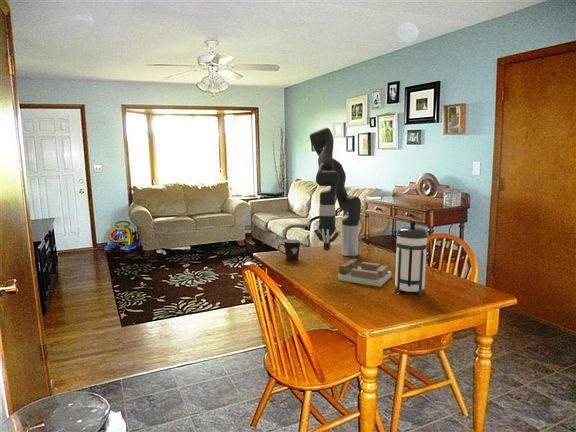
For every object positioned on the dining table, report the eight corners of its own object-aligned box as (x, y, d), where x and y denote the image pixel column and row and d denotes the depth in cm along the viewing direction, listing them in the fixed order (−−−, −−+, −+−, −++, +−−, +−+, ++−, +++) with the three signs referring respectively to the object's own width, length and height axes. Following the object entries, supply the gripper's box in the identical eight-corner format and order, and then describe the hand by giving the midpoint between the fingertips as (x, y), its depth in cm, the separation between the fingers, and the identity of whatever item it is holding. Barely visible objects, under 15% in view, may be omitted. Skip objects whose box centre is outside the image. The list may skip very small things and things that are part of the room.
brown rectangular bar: (352, 265, 212) (352, 258, 212) (358, 266, 211) (359, 259, 210) (339, 273, 200) (339, 265, 199) (345, 274, 198) (345, 266, 197)
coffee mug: (300, 257, 239) (300, 239, 237) (299, 261, 230) (299, 242, 229) (279, 256, 240) (279, 238, 238) (277, 260, 232) (277, 242, 230)
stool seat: (350, 270, 213) (351, 259, 213) (391, 276, 204) (391, 265, 203) (337, 279, 199) (338, 268, 198) (380, 286, 189) (381, 274, 188)
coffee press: (382, 288, 187) (384, 219, 182) (412, 284, 193) (415, 217, 188) (408, 301, 171) (411, 226, 166) (439, 296, 178) (444, 224, 173)
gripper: (310, 213, 201) (310, 250, 204) (336, 216, 195) (336, 253, 197) (318, 211, 208) (318, 247, 211) (343, 213, 201) (343, 250, 204)
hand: (327, 250), depth 204 cm, fingers closed
